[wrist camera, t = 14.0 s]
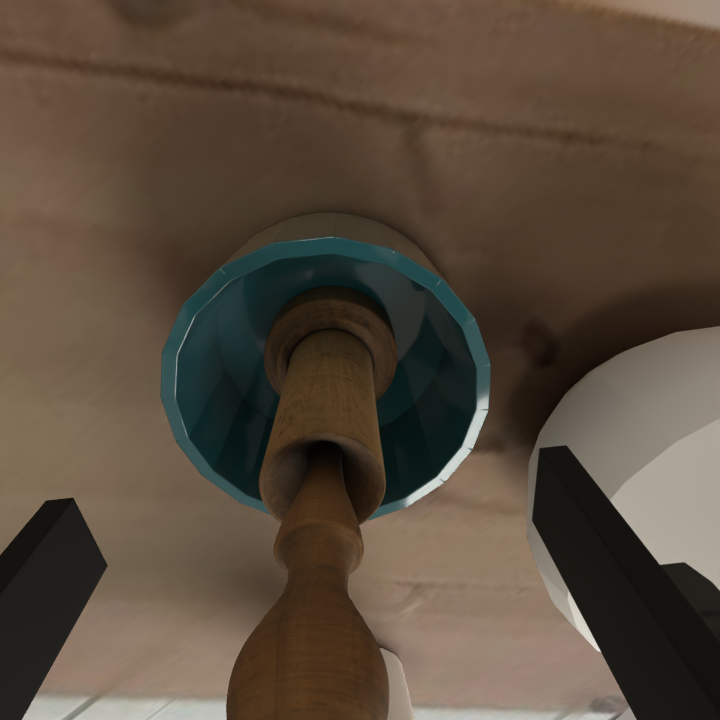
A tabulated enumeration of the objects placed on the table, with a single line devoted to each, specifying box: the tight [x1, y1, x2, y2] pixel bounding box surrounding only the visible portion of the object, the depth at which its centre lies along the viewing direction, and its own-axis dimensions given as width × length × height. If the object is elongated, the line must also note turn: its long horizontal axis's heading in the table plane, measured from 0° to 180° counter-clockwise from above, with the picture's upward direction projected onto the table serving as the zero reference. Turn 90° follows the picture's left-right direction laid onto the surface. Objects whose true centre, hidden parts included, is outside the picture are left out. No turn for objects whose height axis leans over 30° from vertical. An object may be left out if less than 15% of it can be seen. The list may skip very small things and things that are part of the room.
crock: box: [161, 212, 491, 520], centre depth 21 cm, size 13×13×7 cm
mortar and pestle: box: [226, 286, 398, 720], centre depth 15 cm, size 7×6×18 cm
